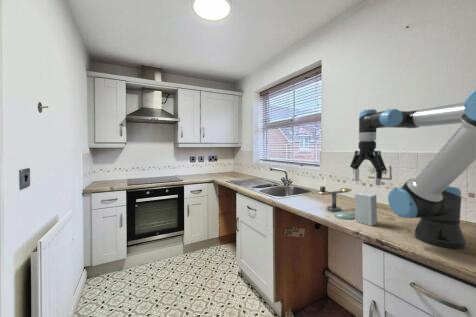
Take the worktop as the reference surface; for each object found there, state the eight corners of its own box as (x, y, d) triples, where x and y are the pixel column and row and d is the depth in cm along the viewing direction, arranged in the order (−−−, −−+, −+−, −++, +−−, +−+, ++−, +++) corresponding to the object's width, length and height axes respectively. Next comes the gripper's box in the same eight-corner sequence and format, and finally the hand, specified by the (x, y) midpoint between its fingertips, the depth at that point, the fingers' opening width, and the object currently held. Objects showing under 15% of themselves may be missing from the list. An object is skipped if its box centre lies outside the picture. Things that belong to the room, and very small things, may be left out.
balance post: (344, 210, 129) (344, 194, 129) (332, 211, 127) (332, 195, 127) (335, 207, 137) (335, 191, 136) (324, 207, 135) (324, 192, 135)
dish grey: (376, 217, 116) (376, 215, 116) (360, 218, 114) (360, 216, 114) (362, 212, 126) (362, 210, 126) (347, 213, 124) (347, 210, 124)
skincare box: (377, 224, 106) (378, 194, 105) (371, 226, 102) (372, 196, 102) (359, 219, 113) (360, 192, 112) (353, 221, 109) (354, 193, 109)
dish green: (358, 218, 114) (358, 216, 114) (341, 220, 112) (341, 217, 112) (345, 213, 124) (345, 211, 123) (330, 214, 122) (330, 212, 122)
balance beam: (353, 192, 131) (353, 184, 130) (321, 196, 126) (320, 188, 126) (346, 190, 137) (346, 183, 137) (315, 194, 133) (315, 186, 133)
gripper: (396, 140, 95) (395, 187, 95) (355, 142, 119) (354, 179, 120) (382, 139, 93) (381, 187, 94) (343, 142, 118) (342, 179, 118)
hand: (366, 183), depth 107 cm, fingers open, 13 cm apart
